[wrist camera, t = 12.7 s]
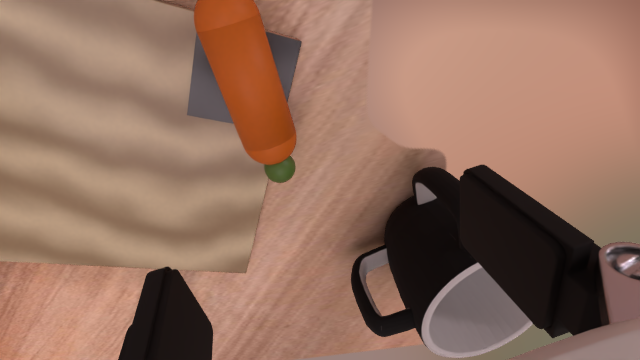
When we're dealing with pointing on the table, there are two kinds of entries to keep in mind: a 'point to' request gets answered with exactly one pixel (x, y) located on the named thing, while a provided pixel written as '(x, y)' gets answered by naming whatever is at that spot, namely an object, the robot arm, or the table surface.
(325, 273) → the table surface
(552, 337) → the robot arm
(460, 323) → the mug
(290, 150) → the carrot
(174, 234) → the chopping board
